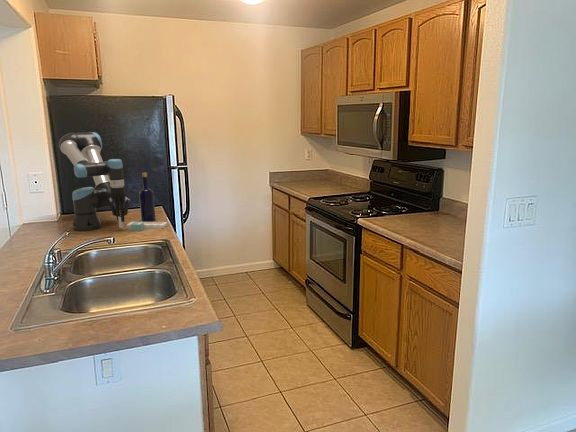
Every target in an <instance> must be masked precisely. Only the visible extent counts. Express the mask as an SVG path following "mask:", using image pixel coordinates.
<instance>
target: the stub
mask: <svg viewBox="0 0 576 432" xmlns="http://www.w3.org/2000/svg"><path fill="white" fill-rule="evenodd" d="M134 222H135V223H132V224H131V225H130V226H131V228H130V232H142V231H143V230H144V222H142V221H134Z"/></svg>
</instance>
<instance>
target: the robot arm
mask: <svg viewBox="0 0 576 432" xmlns="http://www.w3.org/2000/svg"><path fill="white" fill-rule="evenodd" d="M58 148H59V150H60V151H61V153H62V154H64V155H66V156H67V158H68V159H69V160H70V162H71V163H72V165H73V173H74V176H75V177H76V178H89V177H92V178H93V182H94V184H95V186H94V187H93V186H86V187H84V186H83V187H81V188H77V189H75V190H73V191H72V192H71V193H72V194H71V195H72V196H71V197H72V204H73V211H74V212H73V213H74V218H73V223H72V230H74V231H77V232H78V231H79V232H81V231H84V232H85V231H91V230H97V229H100V228H101V227H102V222H101V220H100V218H99V216H98V214H97V210H98V209H103V208H110V210H111V213H112V216H114V217H116V221H117V223H118V228H119V229H123V228H124V226H125V225H124V222H125V216H127V215H128V214H129V213H128V212H129V206H130V202H131V198H128V197H127V196H126V188H125V178H124V167H123V166H124V165H123V160H122V159H120V158H111V159H108V160H105V161H103V157H102V155H101V151H102V149H103V142H102V138H101V135H99V134H98V132H94V131H93V132H91V131H88V132H69V133H67V134H64V135H63V136H62V137H61V138H60V139H59V142H58ZM124 202H125V203H124Z"/></svg>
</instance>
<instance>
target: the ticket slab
mask: <svg viewBox="0 0 576 432" xmlns="http://www.w3.org/2000/svg"><path fill="white" fill-rule="evenodd" d="M135 222H136V221H131V222H128V223H127V224H126V225H125V227H126V229H131V226H130V225H131V224H132V223H135ZM167 225H169V223H168V221H153V222H144V229H148V230H151V229H152V230H153V229H154V230H155V229H156V230H158V229H159V230H162V229H161V228H164V229H165V228H166V227H167ZM144 229H143V230H144Z"/></svg>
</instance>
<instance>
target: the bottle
mask: <svg viewBox="0 0 576 432" xmlns="http://www.w3.org/2000/svg"><path fill="white" fill-rule="evenodd" d="M141 174H142V175H141V176H142V177H141V178H142V184H143V188H141V190H140V191H139V192H138V193H139V206H140V218H141V219H140V221H141V222H157V219H156V209H155V197H154V191H153V190H152V189H151V188H149V185H148V184H149V183H148V178H149V177H148V173H147V172H142V173H141Z"/></svg>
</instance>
